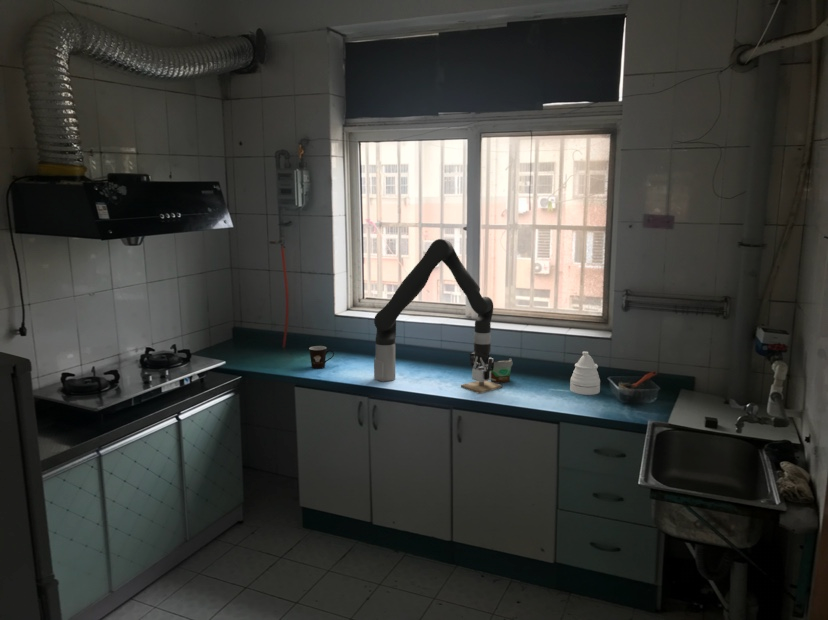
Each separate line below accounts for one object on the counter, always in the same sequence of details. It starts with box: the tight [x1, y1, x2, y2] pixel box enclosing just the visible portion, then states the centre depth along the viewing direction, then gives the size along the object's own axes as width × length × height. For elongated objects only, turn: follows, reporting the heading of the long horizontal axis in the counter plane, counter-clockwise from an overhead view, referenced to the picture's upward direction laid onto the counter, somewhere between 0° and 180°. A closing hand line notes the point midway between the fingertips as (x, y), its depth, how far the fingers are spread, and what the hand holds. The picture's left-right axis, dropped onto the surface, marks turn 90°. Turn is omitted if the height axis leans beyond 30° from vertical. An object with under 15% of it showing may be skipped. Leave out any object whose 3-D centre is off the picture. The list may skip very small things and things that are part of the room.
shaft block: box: [460, 369, 503, 394], centre depth 292 cm, size 14×12×8 cm
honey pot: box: [569, 351, 601, 396], centre depth 287 cm, size 13×13×18 cm
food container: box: [490, 357, 514, 384], centre depth 301 cm, size 12×6×10 cm, turn 117°
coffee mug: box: [308, 345, 335, 370], centre depth 324 cm, size 12×9×10 cm
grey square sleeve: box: [471, 365, 491, 382], centre depth 292 cm, size 6×6×5 cm
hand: (481, 377), depth 292 cm, fingers closed on grey square sleeve, 6 cm apart
